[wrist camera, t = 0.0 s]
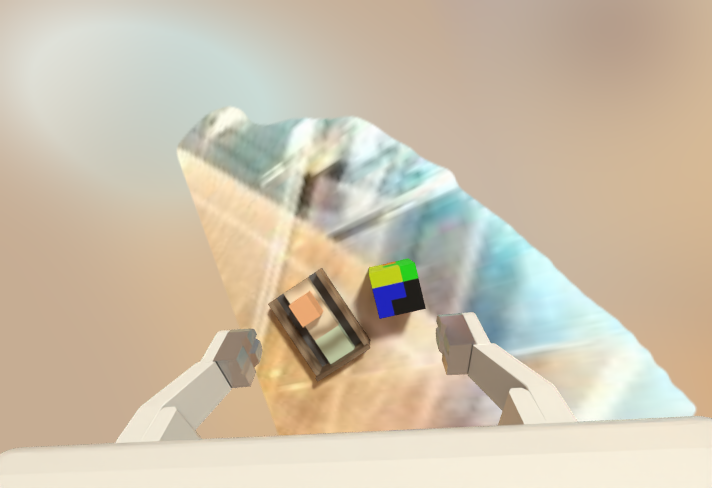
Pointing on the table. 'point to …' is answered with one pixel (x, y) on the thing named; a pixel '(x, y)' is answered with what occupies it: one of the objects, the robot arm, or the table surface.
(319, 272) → the box
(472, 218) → the table surface
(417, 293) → the puzzle toy
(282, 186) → the table surface
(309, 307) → the block
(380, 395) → the table surface
